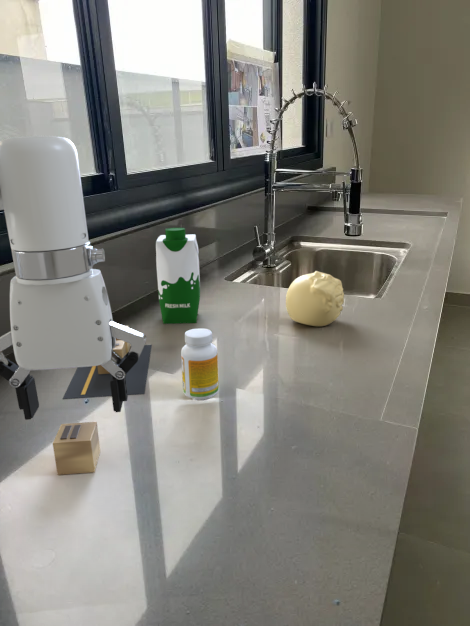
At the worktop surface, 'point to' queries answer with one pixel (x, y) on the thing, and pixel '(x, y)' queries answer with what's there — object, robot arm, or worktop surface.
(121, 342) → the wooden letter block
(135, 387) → the word mat
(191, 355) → the supplement bottle
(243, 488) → the worktop surface
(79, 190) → the robot arm
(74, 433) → the striped cardboard box
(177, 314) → the milk carton
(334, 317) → the pale yellow lumpy ball
